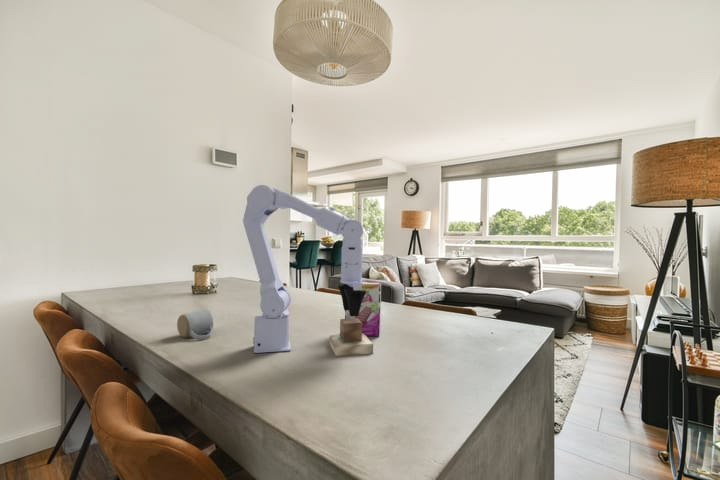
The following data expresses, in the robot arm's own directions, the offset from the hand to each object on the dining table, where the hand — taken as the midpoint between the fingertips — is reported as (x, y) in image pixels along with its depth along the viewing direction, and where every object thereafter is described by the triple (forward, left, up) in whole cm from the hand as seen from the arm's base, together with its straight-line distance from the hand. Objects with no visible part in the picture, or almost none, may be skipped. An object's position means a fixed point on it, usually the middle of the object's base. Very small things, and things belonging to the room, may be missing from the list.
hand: (350, 313), depth 93 cm
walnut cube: (0, 0, -7) cm, 7 cm away
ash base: (0, 0, -10) cm, 10 cm away
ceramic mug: (-43, +21, -10) cm, 49 cm away
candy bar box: (+7, +13, -10) cm, 18 cm away
